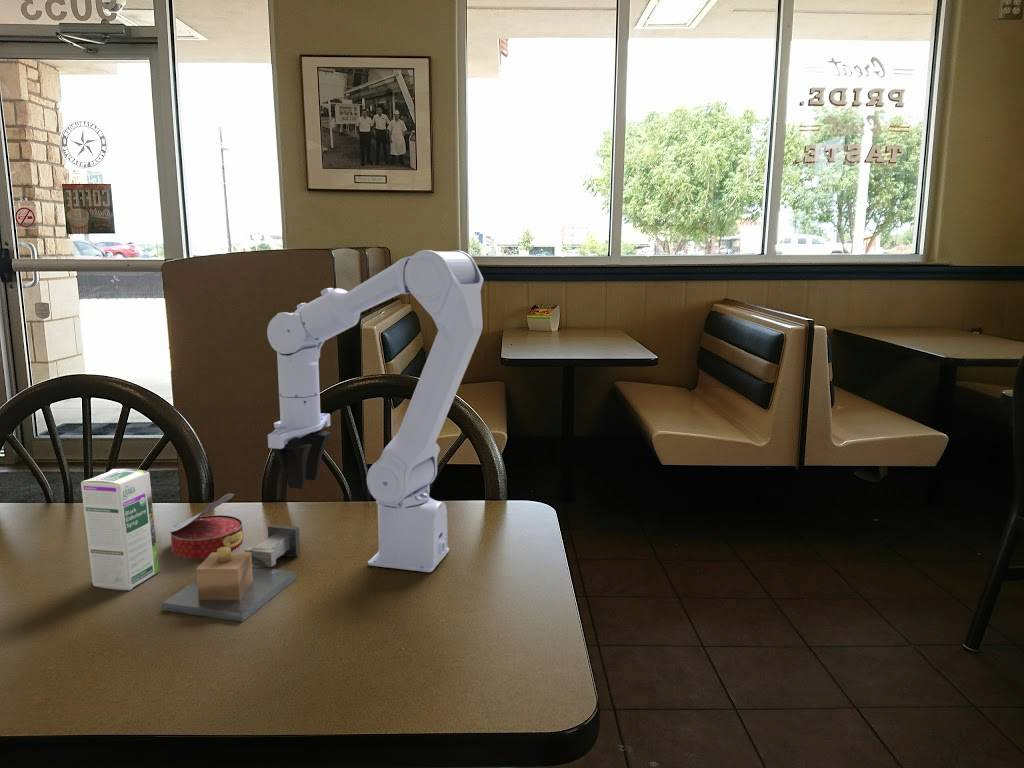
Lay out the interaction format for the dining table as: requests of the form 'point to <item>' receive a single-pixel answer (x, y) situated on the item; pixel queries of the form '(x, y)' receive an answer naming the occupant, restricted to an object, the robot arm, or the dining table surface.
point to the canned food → (206, 533)
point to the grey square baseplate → (237, 610)
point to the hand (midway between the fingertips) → (303, 483)
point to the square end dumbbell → (276, 545)
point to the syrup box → (120, 528)
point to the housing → (224, 575)
